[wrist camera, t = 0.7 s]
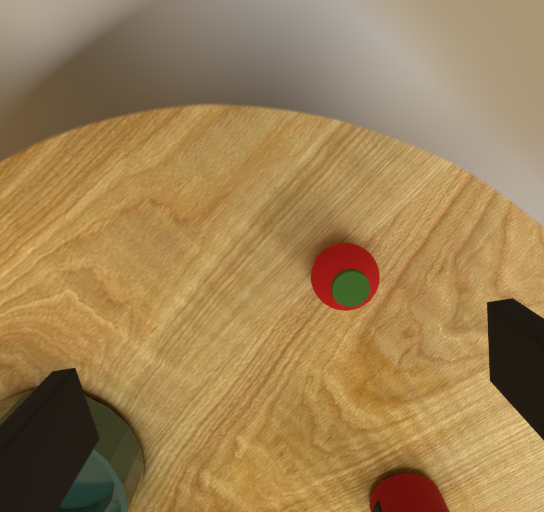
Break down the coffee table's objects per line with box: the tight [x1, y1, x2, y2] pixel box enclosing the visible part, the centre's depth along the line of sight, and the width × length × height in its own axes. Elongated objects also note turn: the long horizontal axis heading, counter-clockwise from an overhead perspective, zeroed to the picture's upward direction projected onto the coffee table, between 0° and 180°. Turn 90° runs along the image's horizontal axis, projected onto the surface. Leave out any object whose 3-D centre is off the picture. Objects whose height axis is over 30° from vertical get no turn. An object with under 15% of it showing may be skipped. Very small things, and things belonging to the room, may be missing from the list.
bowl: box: [0, 390, 145, 512], centre depth 35 cm, size 15×15×5 cm
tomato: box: [311, 243, 379, 311], centre depth 30 cm, size 5×5×5 cm
